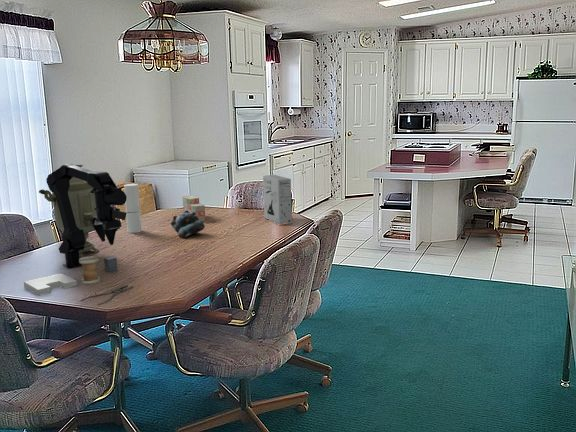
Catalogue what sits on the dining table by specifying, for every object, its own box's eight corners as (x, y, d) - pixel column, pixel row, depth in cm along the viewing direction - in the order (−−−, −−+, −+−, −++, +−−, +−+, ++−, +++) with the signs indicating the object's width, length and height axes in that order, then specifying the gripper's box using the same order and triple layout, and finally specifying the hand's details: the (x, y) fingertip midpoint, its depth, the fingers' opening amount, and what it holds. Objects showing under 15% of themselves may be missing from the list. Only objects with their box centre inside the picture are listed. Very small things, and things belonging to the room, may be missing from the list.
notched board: (24, 286, 212) (23, 281, 212) (61, 278, 221) (60, 273, 221) (38, 295, 202) (38, 289, 202) (76, 285, 212) (76, 280, 211)
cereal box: (264, 218, 327) (262, 175, 322) (276, 217, 330) (275, 174, 325) (279, 225, 308) (278, 179, 303) (292, 223, 311) (291, 178, 306)
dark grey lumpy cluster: (179, 239, 280) (168, 214, 282) (178, 243, 292) (167, 219, 293) (207, 227, 285) (196, 203, 287) (204, 232, 297) (193, 208, 298)
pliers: (76, 301, 193) (111, 283, 212) (77, 304, 193) (112, 285, 212) (101, 304, 190) (134, 285, 209) (101, 306, 190) (134, 287, 209)
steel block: (105, 271, 229) (103, 258, 228) (113, 269, 232) (112, 256, 231) (109, 273, 227) (108, 259, 226) (117, 271, 229) (116, 257, 228)
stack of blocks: (205, 221, 324) (204, 200, 322) (195, 222, 322) (194, 201, 319) (193, 215, 343) (192, 195, 341) (183, 216, 340) (182, 196, 338)
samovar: (49, 265, 240) (38, 171, 232) (44, 252, 262) (34, 166, 255) (121, 255, 253) (113, 166, 245) (110, 243, 276) (103, 161, 268)
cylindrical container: (143, 229, 305) (139, 183, 300) (138, 232, 298) (135, 185, 293) (130, 229, 306) (126, 183, 301) (125, 232, 299) (121, 185, 294)
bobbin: (78, 281, 216) (75, 259, 215) (95, 277, 221) (93, 255, 219) (86, 285, 211) (83, 262, 210) (103, 281, 216) (101, 258, 214)
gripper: (132, 203, 220) (136, 243, 223) (114, 199, 235) (118, 236, 238) (104, 207, 214) (108, 248, 217) (87, 203, 228) (91, 241, 231)
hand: (107, 243), depth 226 cm, fingers open, 9 cm apart
